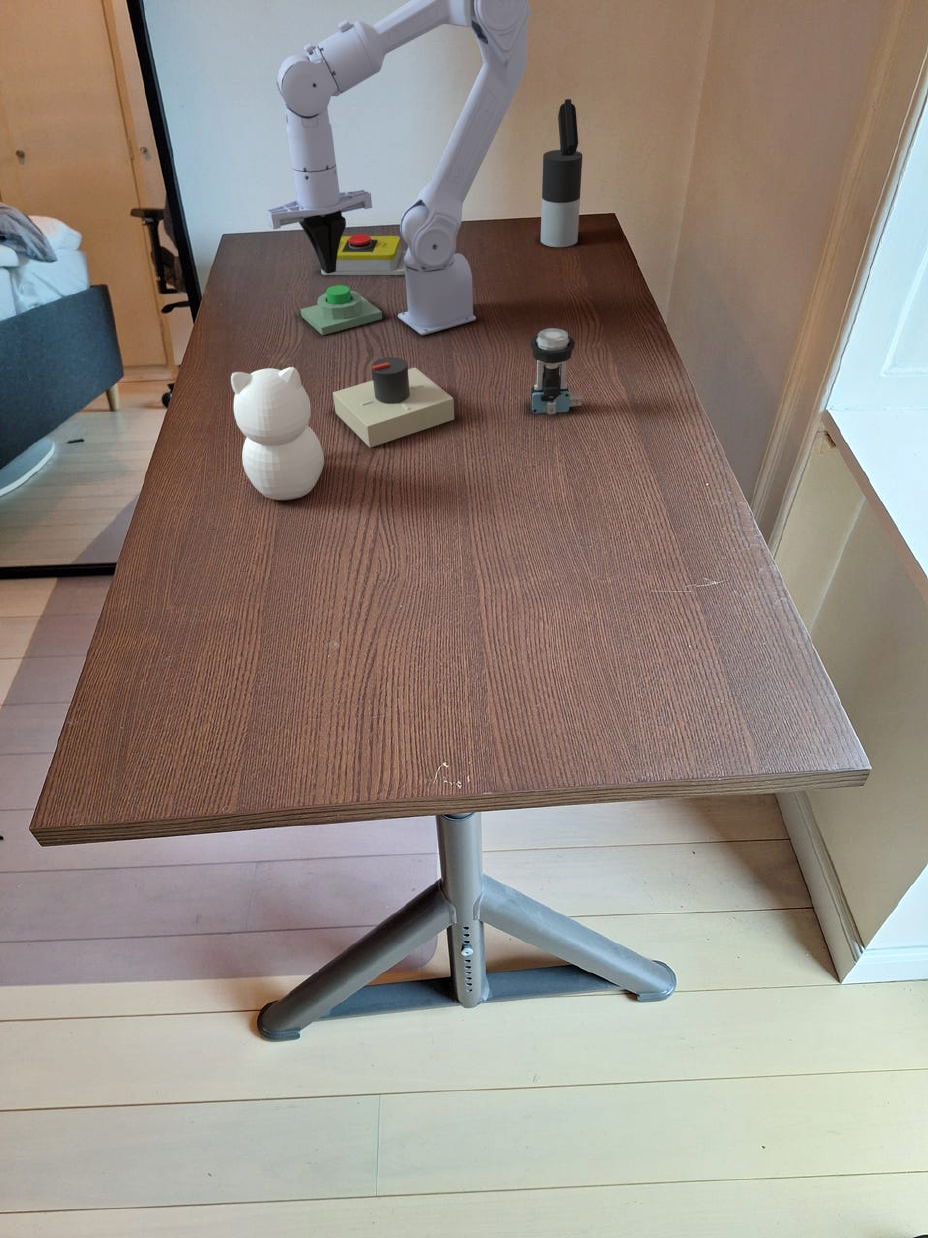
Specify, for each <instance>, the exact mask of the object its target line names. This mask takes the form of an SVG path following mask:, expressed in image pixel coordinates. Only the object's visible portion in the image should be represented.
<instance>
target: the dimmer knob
mask: <svg viewBox="0 0 928 1238" xmlns="http://www.w3.org/2000/svg"><path fill="white" fill-rule="evenodd" d="M408 369H409V366H408V363H407V360H405V359H403V358H402V357H401V358H400V357H395V356H387V357H382V358H379V359H377V360H375V361H373V363H372V364H371V374H372V380H373V384H374V392H375V398H376V399H377V400H378V401H380V402H383V403H398V402H402V401H404V400H406V399H407V398H408V397H409V395H410V389H409V377H408Z"/></svg>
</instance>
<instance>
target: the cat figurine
mask: <svg viewBox="0 0 928 1238" xmlns="http://www.w3.org/2000/svg"><path fill="white" fill-rule="evenodd" d="M230 384H231V388H232V391H233V392H234V397H233V406H232V407H233V417H234V418H235V423H236V425H237V427H238V428H239V430H240V432H241V433H242V435H244V436H245V440H244V443H243V446H242V451H241V452H242V455H241V457H242V466H243V469H244V472H245V475H246V476H247V478H248V480H249V481H250V483H251V484H252V485H253V487H254V488H255V489H256V490H257V491H258V492H259V493H260V494H261V495H262V496H263V497H265V498H267V499H270V500H274V501H289V500H290V501H291V500H294V499H299V498H303V497H305V496H306V495H308V494H309V493H310V492H311V491H312V490H313V489H314V487H315V486H316V485H317V482H318V480H319V478H320V476H321V474H322V472H323V469H324V464H325V454H324V450H323V447H322V445H321V442H320V440H319V438H318V436H317V434H316V433H315V432H314V430H313V429H312V428H311V427H310V425H309V423H310V419H311V414H312V413H311V401H310V397H309V395H308V393H307V391H306V390H305V388H304V386H303V385H302V381H301V375H300V373H299V371H298V370H297V368H295V367H294V366H289V367H285V368H283V369H282V370H281V369H278V368H273V367H270V368H268V367H267V368H262V369H258V370H255V371H252V372H251V373H247V372H243V371H234V372H232V373H231V375H230Z"/></svg>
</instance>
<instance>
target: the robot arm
mask: <svg viewBox="0 0 928 1238" xmlns="http://www.w3.org/2000/svg"><path fill="white" fill-rule="evenodd" d="M531 13H532V10H531V6H530V4H529V0H409V1H407V2H406V3H405V4H403V5H401V6H400V7H399V8H397V9H395V10H394V11H393V12H391V13H389V14H388V15H387V16H385V17H383V18H382V19H380V20H379V21H377V22H376V23H374V24H373V25H370V24H368V23H366V22H363V21H361V20H355V21H353V22H351V24H350V21H348V19H345V20H343V21H341V22H339V23H338V24H337V27H338V29H339V30H338V31H336V32H335V33H333V34H332V35H330V36H329V37H327V38H326V39H324V40H322V41H320V42H319V43H317V44H315V45H313V44H312V42H311V43H310V42H309V43H308V44H305V46H304V47H303V49H304V51H305V54H298V53H296V54H292V55H290V56H288V57H287V58H286V59H284V60H283V61H282V63H281V65H280V67H279V69H278V71H277V72H278V74H277V81H276V86H277V90H278V91H279V94H280V96H281V98H282V99H283V100H284V103H285V104H284V119H285V122H286V123H287V125H286V135H287V142H288V150H289V155H290V156H289V157H290V162H291V169H292V175H293V180H294V187H295V193H296V200H294V201H291V202H288V203H285V204H283V205H280V206H277V207H275V208H270V209H266V210H265V213H266V218H267V225H268V226H269V227H270V228H271V229H273V230H278V229H281V228H282V227H283V226H287V225H293V224H296V223H298V224H299V225H300V227H301V228H302V230H303V232H304V233H305V235H306V236H307V238H308V240H309V241H310V243H311V245H312V248H313V249H314V251H315V254H316V257H317V260H318V262H319V265H320V270H321V269H322V270H323V271H324V272H325V273H327V274H329V273H333V272H336V262H337V254H338V248H339V244H340V240H341V237H342V236H343V234H344V231H345V229H346V227H347V220H346V217H344V216H343V213H347V212H351V211H356V210H360V209H365V210H368V209H372V208H373V202H372V192H370V191H367V190H366V189H360V190H352V191H343V192H341V191H340V184H339V177H338V168H337V160H336V152H335V145H334V144H335V143H334V136H333V128H332V124H331V123H330V117H329V110H328V109H329V108H328V107H329V105H330V101H331V98H332V97H339V96H341V95H342V94H344V93H345V92H347V91H349V90H350V89H353V88H354V87H356V86H358V85H359V84H360V83H362V82H364V81H366V80H367V79H369V78H371V77H372V76H374V75H377V74H378V73H379V72H381V70H382V67H383V63H384V60H385V57H386V55H387V54H389V53H390V52H392V51H393V52H394V50H396V49H398V48H400V47H402V46H404V45H406V44H408V43H410V42H412V41H414V40H416V39H417V38H419V37H422V36H424V35H425V34H426V33H429V32H431V31H432V30H434V29H437V28H438V27H440V26H442V25H450V26H456V27H457V26H458V27H464V28H471V30H472V31H473V33H474V35H475V38H476V42H477V46H478V48H479V52H480V55H481V59H482V67H481V68H480V70H479V73H478V75H477V76H476V79H475V82H474V84H473V85H472V88H471V90H470V93H469V95H468V97H467V99H466V102H465V104H464V106H463V108H462V111H461V113H460V114H459V117H458V119H457V121H456V123H455V125H454V128H453V129H452V133H451V135H450V137H449V140H448V142H447V144H446V146H445V147H444V151H443V153H442V154H441V157H440V160H439V162H438V164H437V166H436V168H435V171H434V172H433V175H432V177H431V179H430V182H429V183H428V184H427V185H425V186H424V187H423V188H421V190H420V191H419V192H418V195H417V197H416V199H415V201H414V202H413V203H412V204H411V205H409V206H408V207H407V208H406V209H405V211H404V212H403V213H402V215H401V218H400V220H399V232H400V235H401V237H402V239H403V240H404V242H405V243H406V244H407V246H408V247H407V249H406V250H407V253H406V255H405V257H404V266H405V275H404V276H405V290H406V302H407V311H404V312H400V313H398V314H397V318H398V319H399V320H401V321H402V322H403V323H404V324H406V325H407V326H409V327H410V328H411V329H413V331H416V332H417V334H419V335H420V336H426V335H429V334H434V333H436V332H440V331H444V330H446V329H450V328H453V327H457V326H460V325H464V324H467V323H470V322H474V321H476V319H477V317H476V315H474V296H473V295H474V293H473V273H472V270H471V269H472V268H471V265H470V264H469V261H468V259H467V258H466V257H465V256H464V255H463V254H462V253H459V252H458V253H457V252H456V250H457V236H458V234H459V233H458V232H459V230H460V227H461V226H462V221H463V220H462V219H463V205H464V202H465V200H466V198H467V196H468V194H469V191H470V189H471V186H472V184H474V181H475V179H476V177H477V174H478V172H479V170H480V168H481V166H482V164H483V162H484V159H485V157H486V155H487V154H488V152H489V149H490V148H491V145H492V143H493V140H494V138H495V136H496V134H497V133H498V130H499V129H500V126H501V124H502V122H503V120H504V117H505V115H506V113H507V111H508V109H509V107H510V106H511V103H512V101H513V99H514V97H515V94H516V93H517V90H518V88H519V86H520V84H521V82H522V80H523V78H524V75H525V73H526V70H527V67H528V66H527V65H528V24H529V20H530V16H531Z"/></svg>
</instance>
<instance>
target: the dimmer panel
mask: <svg viewBox="0 0 928 1238" xmlns="http://www.w3.org/2000/svg"><path fill="white" fill-rule="evenodd" d="M408 377H409V389H410V395H409V397H408V398H407V399H406V400H404V401H402V402H398V403H383V402H380V401H378V400H377V399H376V398H375V392H374V384H373V379H372V380H369V381H366V382H362V383H359V384H356V385H352V386H349V387H346V388H343V389H339V390H337V391H333V392H332V397H333V398H332V399H333V404H334V411H335V415H337V416H338V417H339V418H340V419H341V420H342V421H343V422H344V423H345V424H346V425H347V426H348V427H349V428H350V429H351V430H352V431H353V432H354V434H356V436H358V438H360V440H361V441H363V442H364V443H365V445H367V446H368V448H370V449H372V448H374V447H376V446H379V445H382V444H385V443H389V442H392V441H394V440H397V439H400V438H403V437H407V436H409V435H412V434H416V433H419V432H421V431H424V430H428V429H430V428H433V427H436V426H439V425H442V424H445V423H448V422H452V421H454V420H455V404H454V403H455V401H454V398H453V396H451V395H450V394H449V393H448V392H446V391H445V390H444V389H443V388H441V387H440V386H439V385H438V384H437V383H435V382H434V381H433V380H431V379H430V378H429V377H428V376H427V375H425V374H424V373H423V372H422V371H421V370H419V369H418V368H417V367H411V368H408Z"/></svg>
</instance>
